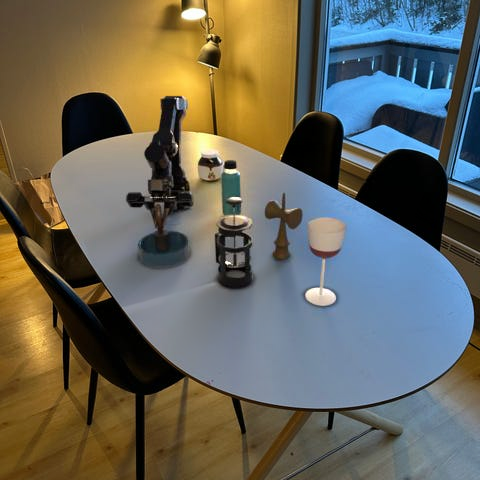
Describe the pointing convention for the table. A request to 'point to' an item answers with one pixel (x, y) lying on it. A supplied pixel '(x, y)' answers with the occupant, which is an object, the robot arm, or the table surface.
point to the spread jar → (210, 166)
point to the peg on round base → (160, 232)
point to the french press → (233, 256)
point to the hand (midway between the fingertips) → (159, 227)
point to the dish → (168, 257)
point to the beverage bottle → (230, 187)
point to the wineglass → (324, 252)
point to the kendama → (283, 225)
